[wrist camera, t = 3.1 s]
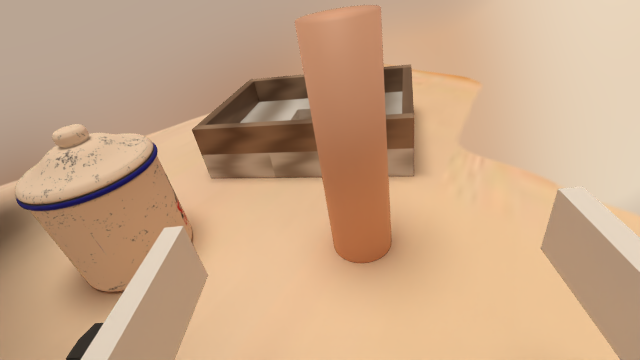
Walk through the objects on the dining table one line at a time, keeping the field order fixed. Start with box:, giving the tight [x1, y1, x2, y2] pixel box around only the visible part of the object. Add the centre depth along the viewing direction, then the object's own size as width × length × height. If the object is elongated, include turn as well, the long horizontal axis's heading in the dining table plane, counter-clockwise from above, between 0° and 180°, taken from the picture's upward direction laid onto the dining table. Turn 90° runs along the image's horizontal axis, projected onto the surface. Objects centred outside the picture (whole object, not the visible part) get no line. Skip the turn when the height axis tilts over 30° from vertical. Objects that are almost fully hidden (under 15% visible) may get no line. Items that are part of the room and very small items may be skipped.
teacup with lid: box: [15, 124, 192, 292], centre depth 26 cm, size 12×9×12 cm
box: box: [192, 65, 414, 178], centre depth 39 cm, size 22×16×6 cm
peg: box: [295, 5, 391, 263], centre depth 21 cm, size 4×4×16 cm
